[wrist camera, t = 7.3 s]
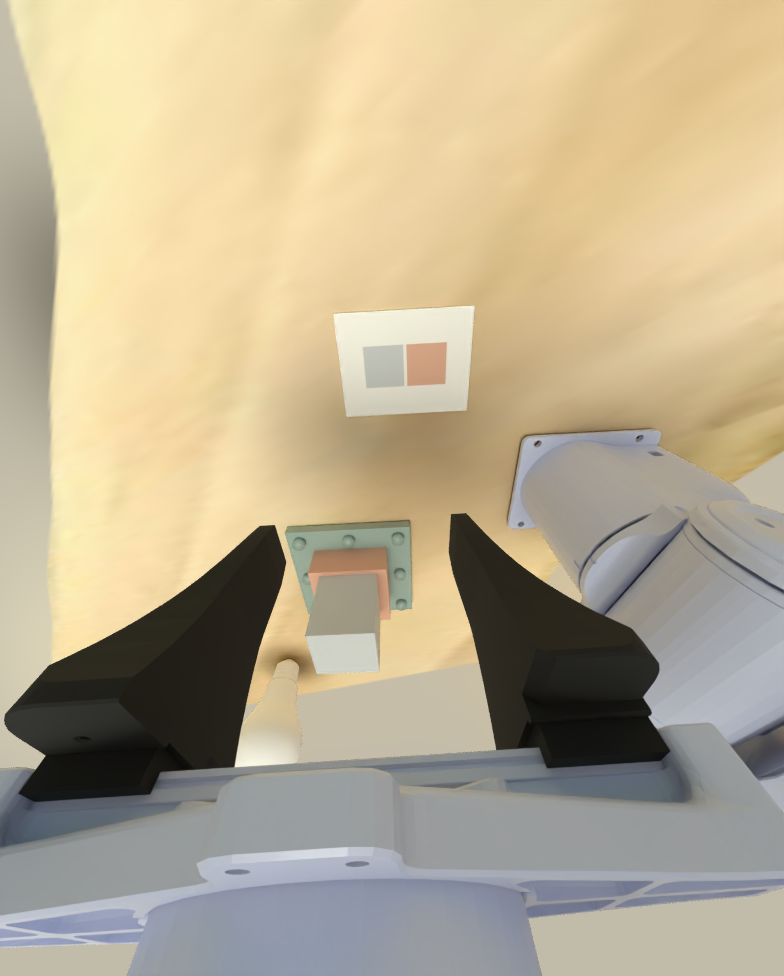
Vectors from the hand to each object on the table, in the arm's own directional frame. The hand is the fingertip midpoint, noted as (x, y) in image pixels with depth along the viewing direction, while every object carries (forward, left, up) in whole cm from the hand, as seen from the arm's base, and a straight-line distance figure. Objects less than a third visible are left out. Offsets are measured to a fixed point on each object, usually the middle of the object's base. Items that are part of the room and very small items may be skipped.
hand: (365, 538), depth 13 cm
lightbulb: (+12, +26, -11) cm, 30 cm away
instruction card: (-2, -5, -10) cm, 12 cm away
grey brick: (+3, +12, -7) cm, 14 cm away
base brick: (+3, +12, -10) cm, 16 cm away
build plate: (+3, +12, -10) cm, 16 cm away
